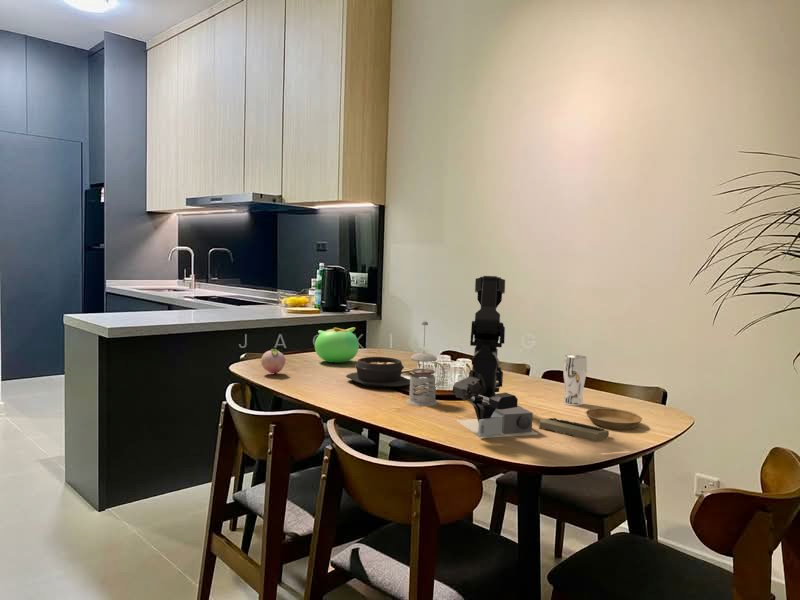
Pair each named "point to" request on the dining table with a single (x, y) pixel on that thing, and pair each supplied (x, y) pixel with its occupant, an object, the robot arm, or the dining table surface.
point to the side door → (490, 426)
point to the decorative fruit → (273, 361)
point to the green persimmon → (337, 345)
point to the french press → (423, 380)
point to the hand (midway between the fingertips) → (482, 427)
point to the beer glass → (574, 379)
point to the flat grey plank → (574, 429)
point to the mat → (473, 426)
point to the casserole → (379, 372)
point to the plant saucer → (613, 418)
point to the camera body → (515, 419)
